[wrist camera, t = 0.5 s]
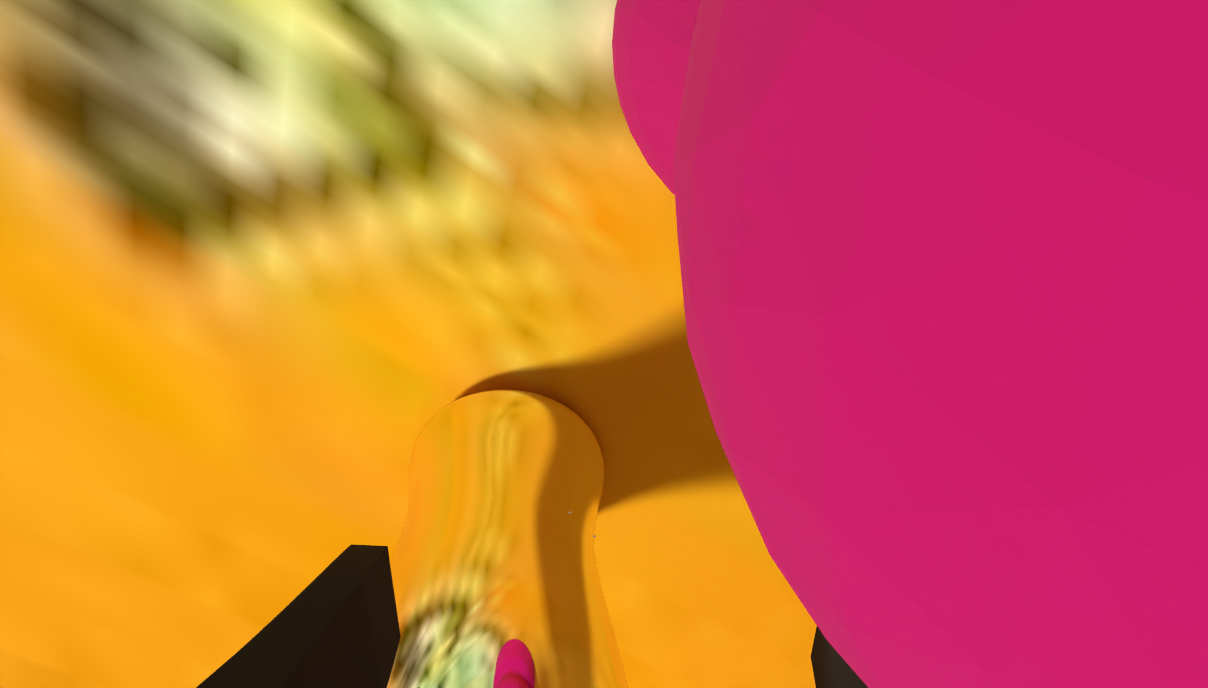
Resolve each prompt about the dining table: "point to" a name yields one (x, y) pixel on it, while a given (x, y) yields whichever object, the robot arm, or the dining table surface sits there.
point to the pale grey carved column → (503, 551)
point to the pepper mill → (952, 317)
